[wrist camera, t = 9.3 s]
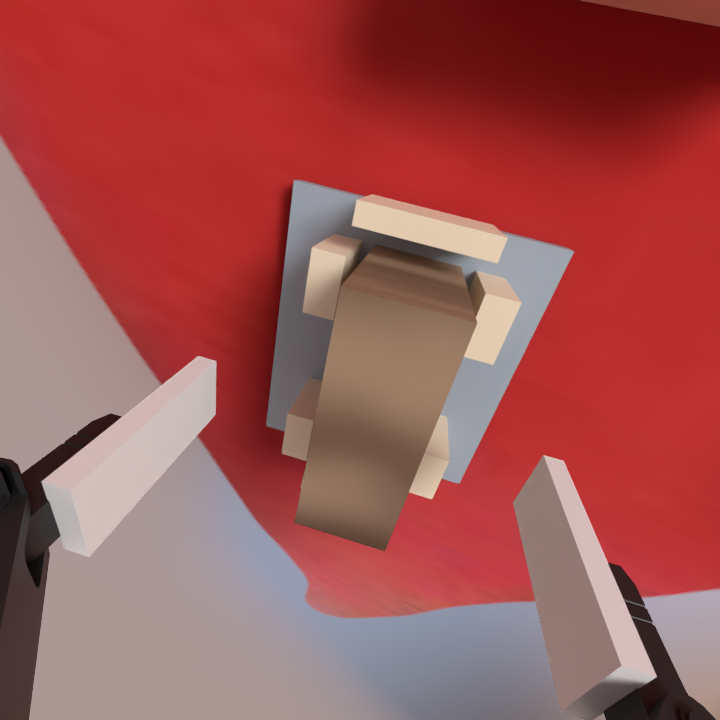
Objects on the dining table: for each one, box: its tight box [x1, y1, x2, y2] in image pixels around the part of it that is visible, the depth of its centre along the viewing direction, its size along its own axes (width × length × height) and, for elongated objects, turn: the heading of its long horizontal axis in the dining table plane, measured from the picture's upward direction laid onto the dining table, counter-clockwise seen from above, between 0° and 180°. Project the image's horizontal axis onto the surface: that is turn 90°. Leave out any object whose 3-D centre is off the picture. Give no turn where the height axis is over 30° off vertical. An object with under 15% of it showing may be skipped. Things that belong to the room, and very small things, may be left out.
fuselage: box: [295, 244, 477, 551], centre depth 18 cm, size 12×4×8 cm, turn 168°
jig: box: [266, 180, 574, 499], centre depth 20 cm, size 16×14×5 cm
